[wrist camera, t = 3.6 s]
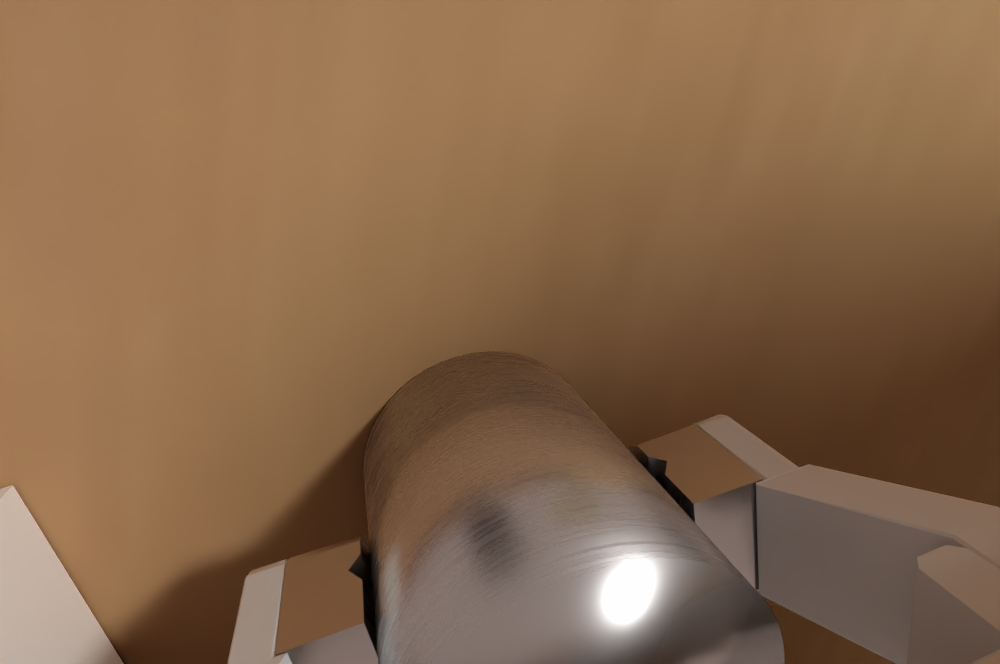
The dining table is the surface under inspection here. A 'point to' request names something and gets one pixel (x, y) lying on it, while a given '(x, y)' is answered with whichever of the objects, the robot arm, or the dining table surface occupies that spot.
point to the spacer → (537, 534)
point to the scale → (41, 599)
